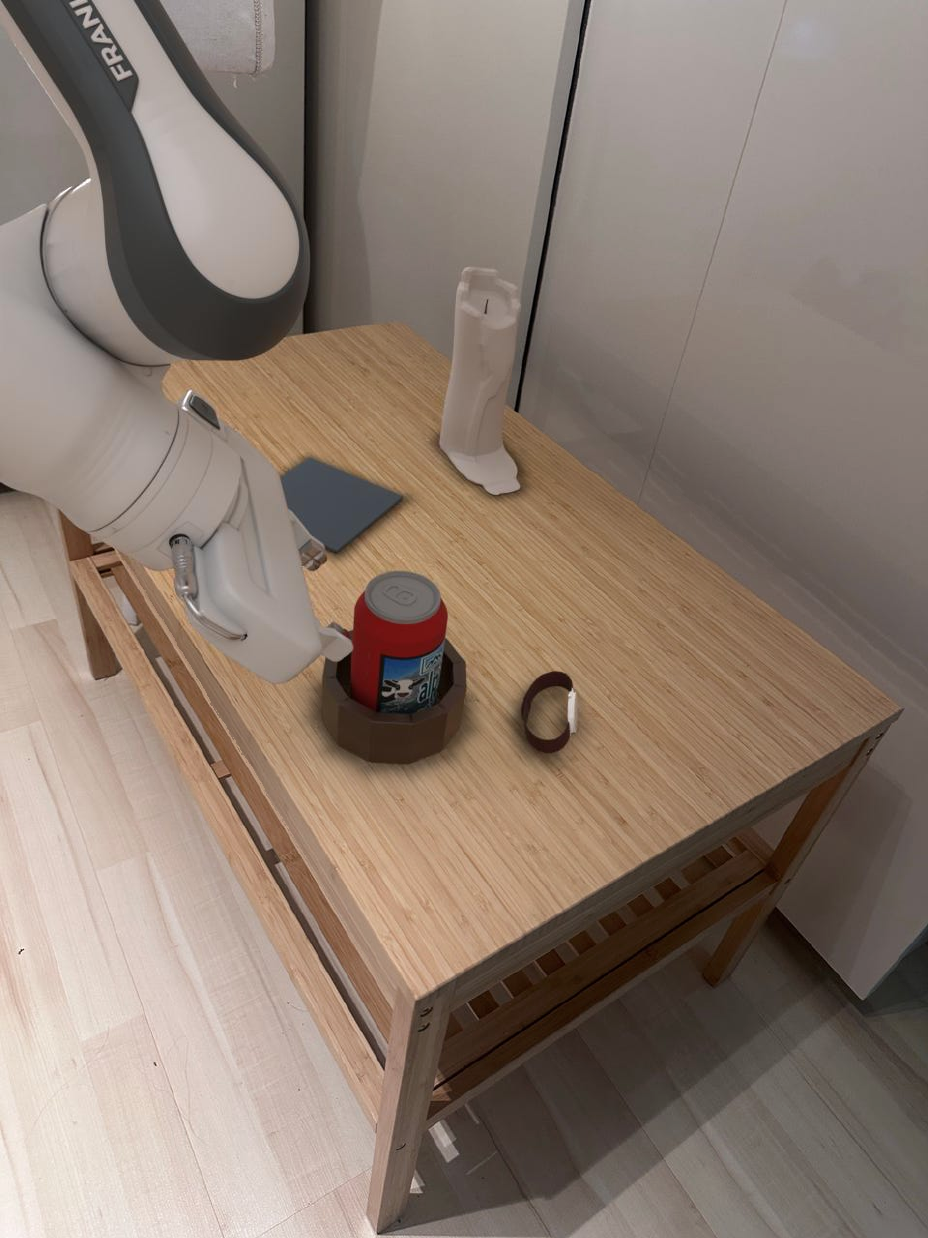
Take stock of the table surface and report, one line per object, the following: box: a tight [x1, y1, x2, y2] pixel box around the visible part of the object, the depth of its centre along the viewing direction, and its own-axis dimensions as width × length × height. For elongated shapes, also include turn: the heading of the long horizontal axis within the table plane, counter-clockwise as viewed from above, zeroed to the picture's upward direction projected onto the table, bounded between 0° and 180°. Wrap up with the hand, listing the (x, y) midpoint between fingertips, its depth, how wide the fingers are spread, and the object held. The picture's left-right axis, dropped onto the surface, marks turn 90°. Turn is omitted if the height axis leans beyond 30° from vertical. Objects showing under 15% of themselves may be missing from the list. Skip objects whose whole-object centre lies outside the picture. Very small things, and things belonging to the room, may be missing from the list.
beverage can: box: [349, 570, 449, 714], centre depth 64 cm, size 7×7×12 cm
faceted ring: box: [320, 629, 467, 765], centre depth 67 cm, size 11×11×4 cm
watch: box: [520, 670, 579, 754], centre depth 68 cm, size 8×5×4 cm, turn 170°
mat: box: [280, 457, 404, 555], centre depth 88 cm, size 12×12×1 cm
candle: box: [439, 266, 522, 496], centre depth 92 cm, size 7×14×20 cm, turn 24°
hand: (331, 601), depth 60 cm, fingers open, 8 cm apart
